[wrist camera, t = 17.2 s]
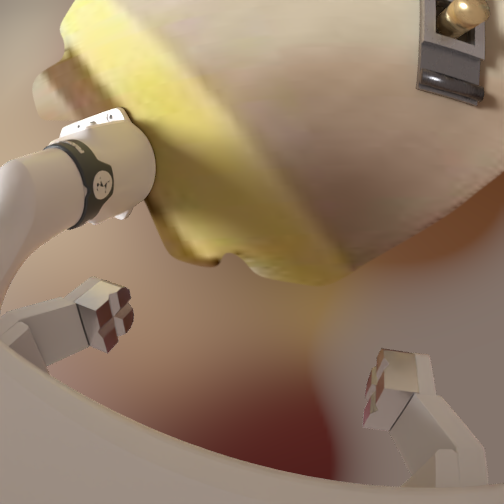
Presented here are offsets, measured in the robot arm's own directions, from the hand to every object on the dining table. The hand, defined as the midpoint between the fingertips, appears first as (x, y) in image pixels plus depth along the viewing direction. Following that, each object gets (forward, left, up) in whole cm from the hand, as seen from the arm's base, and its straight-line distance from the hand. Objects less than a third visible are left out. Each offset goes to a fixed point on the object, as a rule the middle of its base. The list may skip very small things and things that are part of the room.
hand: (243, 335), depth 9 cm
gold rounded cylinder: (+14, +21, -34) cm, 42 cm away
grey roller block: (+14, +21, -34) cm, 42 cm away
